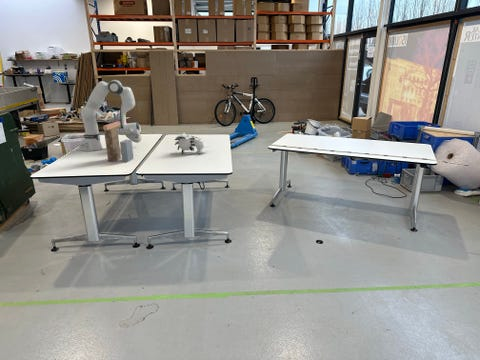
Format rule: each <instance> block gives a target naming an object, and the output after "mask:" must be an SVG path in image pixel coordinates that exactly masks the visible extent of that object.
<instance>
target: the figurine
mask: <svg viewBox="0 0 480 360" xmlns="http://www.w3.org/2000/svg"><path fill="white" fill-rule="evenodd" d="M202 139H203V138H202V137H200V136H199V137H197V136H196V135H195V134H192V135H189V134H188V135H187V134H186V133H185V132H182V133H178V136H176V137H175V139H174V141H175V143H174V145H175V146H177V145H178V147H177V151H179V150H180V149H181V153H182V154H183V155H184V154H185V153H184V152H185V151H191V152H192V151H195V149H196V150H197V151H196V154H200V152H201V151H202V150H203V149H204V148H207V147H210V145H209V144H207V143H205V141H204V140H202Z"/></svg>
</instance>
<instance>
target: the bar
mask: <svg viewBox="0 0 480 360" xmlns="http://www.w3.org/2000/svg"><path fill="white" fill-rule="evenodd" d="M119 126H120V127H121V121H115V122H111V123H108V124H106V125H103V126H102V127H103V128H102V129H103V131H104V130H109V129H112V128H114V127H117V128H118V127H119Z"/></svg>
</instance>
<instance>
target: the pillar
mask: <svg viewBox="0 0 480 360" xmlns="http://www.w3.org/2000/svg"><path fill="white" fill-rule="evenodd" d="M117 129H118V126H117V127H114V128H112V129H109V130H104V129H103V134H104V139H105V147H106V148H105V149H106V154H107V155H106V156H107V161H108V162H117V161H119V160H120V159H121V160H122V155H121V147H120V140H119V134H118V130H117Z"/></svg>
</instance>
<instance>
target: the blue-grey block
mask: <svg viewBox="0 0 480 360" xmlns="http://www.w3.org/2000/svg"><path fill="white" fill-rule="evenodd" d="M119 146H120V154H121V162H122V163H123V162H124V163H129V162H131V161H132V160H134V159H135V158H134V151H133V150H134V149H133V141H132V140H130V139H123V140H122V141H119Z"/></svg>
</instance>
